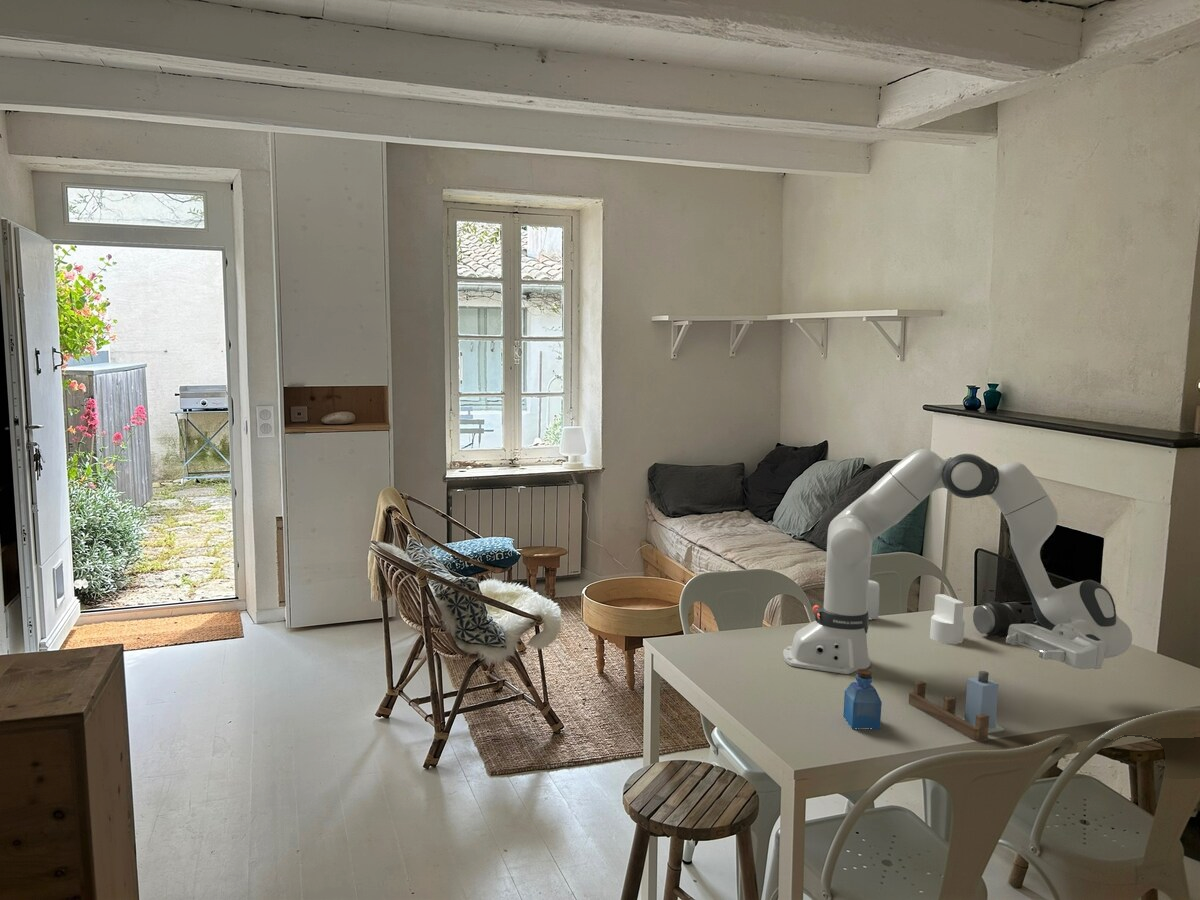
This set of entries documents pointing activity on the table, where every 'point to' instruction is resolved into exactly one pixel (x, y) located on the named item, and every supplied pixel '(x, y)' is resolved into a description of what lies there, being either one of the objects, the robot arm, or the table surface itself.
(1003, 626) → the muzzle brake
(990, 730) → the comb rack
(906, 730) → the table surface
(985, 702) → the blue block with peg
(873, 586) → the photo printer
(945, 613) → the base with upright slab
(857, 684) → the perfume bottle
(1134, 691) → the table surface
